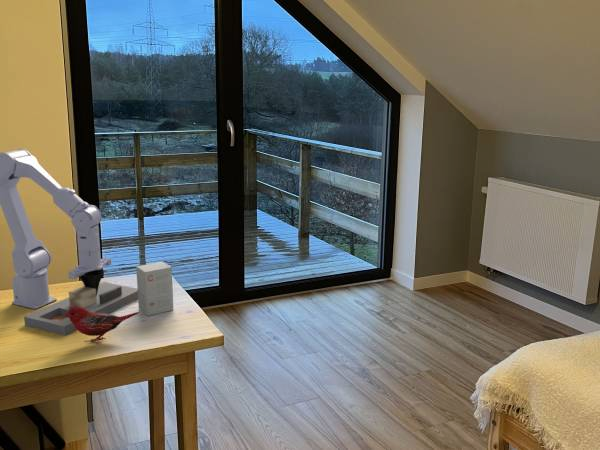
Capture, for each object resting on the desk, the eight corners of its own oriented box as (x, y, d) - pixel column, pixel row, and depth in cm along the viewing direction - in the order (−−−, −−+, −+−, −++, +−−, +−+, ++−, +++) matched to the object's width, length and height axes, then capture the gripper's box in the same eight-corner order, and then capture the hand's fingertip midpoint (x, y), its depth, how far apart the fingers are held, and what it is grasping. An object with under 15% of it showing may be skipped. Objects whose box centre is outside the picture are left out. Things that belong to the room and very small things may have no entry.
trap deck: (24, 325, 154) (23, 307, 153) (104, 289, 181) (103, 274, 180) (65, 335, 149) (63, 317, 148) (141, 297, 175) (140, 281, 174)
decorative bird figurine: (66, 343, 144) (63, 305, 142) (139, 332, 151) (137, 296, 149) (66, 348, 142) (63, 309, 139) (141, 336, 149) (139, 300, 146)
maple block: (69, 305, 162) (68, 291, 161) (82, 299, 166) (81, 286, 165) (83, 308, 160) (82, 294, 159) (96, 302, 164) (95, 288, 163)
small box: (164, 303, 171) (162, 260, 168) (174, 310, 166) (172, 266, 163) (137, 309, 166) (135, 265, 163) (146, 316, 161) (144, 271, 158)
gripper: (81, 258, 155) (84, 306, 158) (118, 245, 168) (120, 289, 171) (61, 255, 158) (65, 302, 161) (99, 242, 171) (102, 286, 174)
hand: (92, 295), depth 166 cm, fingers closed
